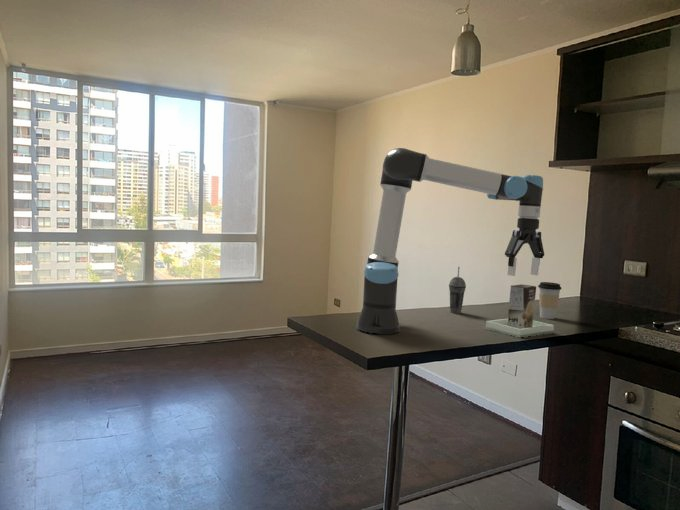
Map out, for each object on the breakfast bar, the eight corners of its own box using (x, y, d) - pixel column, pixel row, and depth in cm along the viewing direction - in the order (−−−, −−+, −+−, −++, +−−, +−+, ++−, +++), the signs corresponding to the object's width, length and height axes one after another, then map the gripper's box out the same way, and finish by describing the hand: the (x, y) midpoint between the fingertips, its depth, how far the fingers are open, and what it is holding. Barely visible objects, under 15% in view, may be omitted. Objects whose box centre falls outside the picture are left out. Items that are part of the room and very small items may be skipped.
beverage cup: (446, 313, 220) (449, 266, 219) (447, 310, 227) (450, 265, 226) (463, 314, 218) (466, 268, 217) (464, 312, 225) (467, 266, 223)
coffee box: (523, 331, 187) (527, 287, 185) (506, 328, 191) (510, 285, 190) (533, 328, 194) (536, 286, 192) (516, 325, 198) (520, 283, 196)
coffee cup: (554, 316, 226) (557, 282, 225) (561, 320, 217) (565, 285, 215) (532, 314, 227) (535, 281, 226) (538, 319, 218) (541, 284, 216)
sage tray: (519, 338, 180) (520, 329, 180) (485, 328, 193) (486, 321, 193) (553, 333, 192) (554, 325, 191) (519, 324, 204) (519, 317, 204)
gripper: (515, 216, 179) (509, 277, 180) (558, 220, 193) (552, 276, 194) (498, 215, 185) (492, 274, 187) (540, 219, 199) (534, 273, 201)
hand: (522, 275), depth 190 cm, fingers open, 13 cm apart
